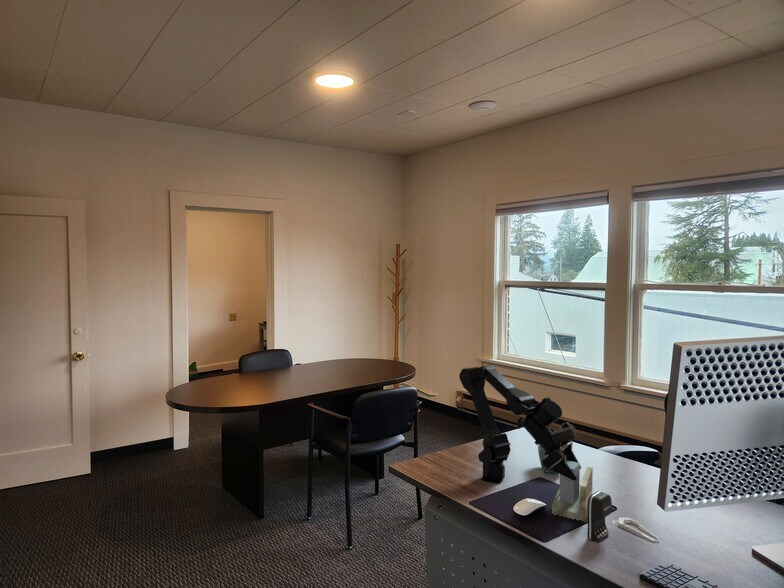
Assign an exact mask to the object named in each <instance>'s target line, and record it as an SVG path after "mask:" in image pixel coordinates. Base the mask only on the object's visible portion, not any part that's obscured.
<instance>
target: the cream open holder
mask: <svg viewBox="0 0 784 588" xmlns="http://www.w3.org/2000/svg"><path fill="white" fill-rule="evenodd" d="M593 470H594V468H593V467H592V466H586V469H585V472H584V474H583V476H582V480H581V482H580V483H579V498H578V500H577V501H576V502H575V503H574V505H573V504H569V503H565V502H561V501H560V497H559V495H560V487H559V488H558V490H557V492H556V495H555V497H554V499H553V501H552V504H551V515H552V514H554V515H553V516H556V515H559V516H558V517H561V516H563V517H562V518H565V517H567V518H566V519H570V518H571V519H570V520H574V519H576V521H579V520H581V521H580V522H584V523H586V521H587V519H588V499H589V497H590V495H592V494H593ZM586 518H587V519H586Z"/></svg>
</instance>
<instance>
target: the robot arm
mask: <svg viewBox="0 0 784 588" xmlns="http://www.w3.org/2000/svg"><path fill="white" fill-rule="evenodd" d="M458 377H459V381H460V383H461V385H462V387H463V388H464V389H465V390H466V392H468V393H469V394H470V397H471V400H472V403H473V405H474V409H475V411H476V414H477V415H476V416H477V419H478V420H479V423H480V426H481V429H482V432H483V440H482V446H483V447H482V448H483V449H482V450H481V451H480V452H479V453H478V455H477V456H478V460H479V462H481V463H482V476H481V478H480V480H481V481H485V482H491V483H496V484H501V483H502V481H503V480H504V479H505V478H506V477H505V476H506V475H505V474H506V467H505V465H504V462H505V461H508V458H509V456H510V453H511V443H510V440H509V439H508V438H509V437H508V435H507V434H506V432H505V433H502V432H501V431H500V430H499V428H498V426H497V423H496V420H495V416H494V414H493V411H492V408H491V406H490V403H489V401H488V400H489V399H488V397H487V395H486V391H485V385H486V382H487V383H488V384H489V385H490V386H492V388H493V389H494V390H496V392H498V393H499V395H501V396H502V397H503V398H504V399H505V401H506V405H507V407H508V408H509V410H510V411H511V412H512V413H513V415H515V416H522V415H526V416H524V417H519V418H518V419H517V420H516V422H517V425H516V426H517V429H518V430H520V429H521V428H522V427H523V428H524V429H525V430H526V431H527V432H528V434H529V435H530V437H532V438H533V440H534V444H535V445H536V446H538V444H539V445H540V446H541V447H542V448H543V450H544V451H545V453H544V454H545V455H546V456H545V457H544V458H543V460H542V465H543V466H544V467H545V468H546V469H547V470H548V469H549V470H550V471H551V470H552V471H554V472H557V473H556V474H559V475H560V474H561V475H563V476H565V477H567V478H569V479H571V480H573V481H575V480H576V479H577V477H576V476H575V474H574V473H573V471H572V470H571V468H570V467H569V466H568V464H567V463H566V460H568V461H572V462H577V463H580V462H579V461H578V458H577V457H576V455H575V452H574V451H573V442H572V441H573V440H575V439H577V437H578V435H577V431H576V427H575V426H574V425H573V424H570V422H568V421H566V422H563V423H562V424H561V425H562V426H561V427H560V428H559V429H555V427H552V426H550V425H551V424H553V423H555V422H557V420H558V419H561V417H562V416H563V410H562V407H561V406H560V405H559V404H557V402H555V401H553V400H551V398H550V397H544V398H543V399H541V401H539V400H537V399H535V397H534V396H533V395H531V394H530V393H528V392H527V391H525V390H521V389H519V388H517V387H516V386H515V385H513V384H512V383H511V382H510V381H509V380H508V379H507V378H506V377H505V376H503V375H502V374H501V373H500V372H499V371H498V370H497V368H496V367H495V366H494V365H491V364H488V365H487V364H486V365H482V366H481V365H480V366H474V367H473V366H472V367H464V368H462V369H461V370H460V373H459V375H458ZM549 426H550V427H549ZM581 469H582V466H581V465H580V470H581Z"/></svg>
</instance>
